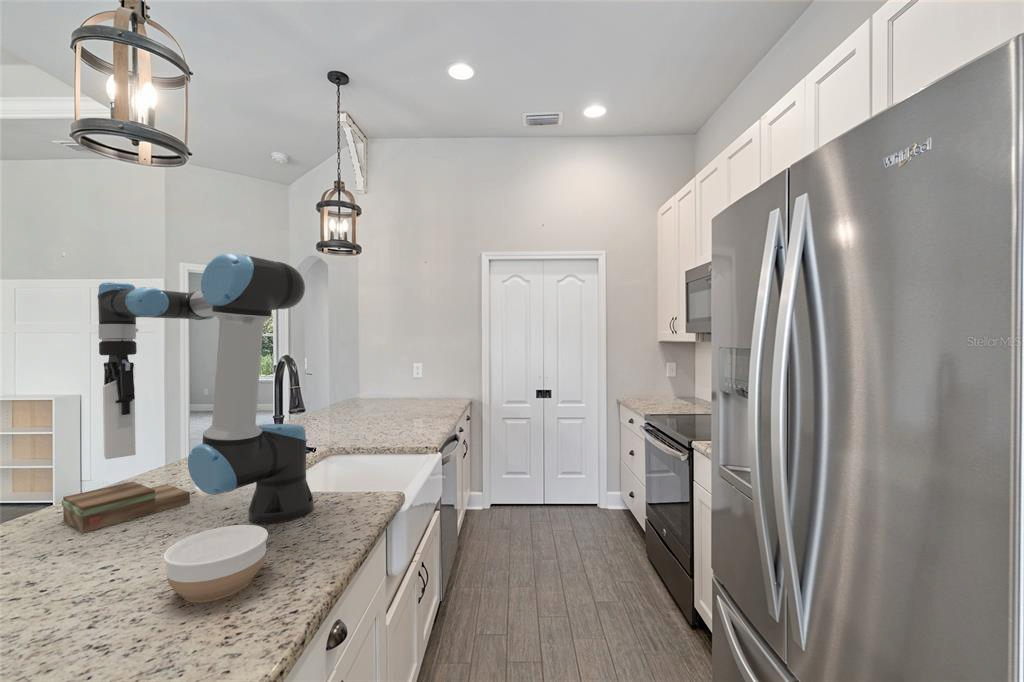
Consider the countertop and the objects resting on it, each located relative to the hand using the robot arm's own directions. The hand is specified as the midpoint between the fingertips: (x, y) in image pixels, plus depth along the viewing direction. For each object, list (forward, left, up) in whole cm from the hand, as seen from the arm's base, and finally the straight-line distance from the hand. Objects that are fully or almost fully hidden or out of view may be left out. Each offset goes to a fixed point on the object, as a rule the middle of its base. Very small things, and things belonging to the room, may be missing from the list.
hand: (119, 425), depth 118 cm
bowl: (-64, +5, -23) cm, 68 cm away
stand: (-5, 0, -23) cm, 23 cm away
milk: (0, 0, -8) cm, 8 cm away
